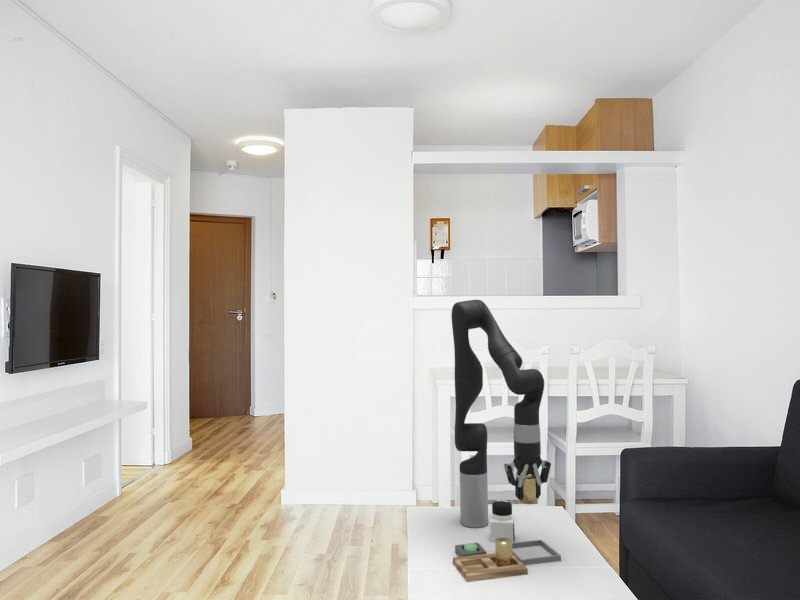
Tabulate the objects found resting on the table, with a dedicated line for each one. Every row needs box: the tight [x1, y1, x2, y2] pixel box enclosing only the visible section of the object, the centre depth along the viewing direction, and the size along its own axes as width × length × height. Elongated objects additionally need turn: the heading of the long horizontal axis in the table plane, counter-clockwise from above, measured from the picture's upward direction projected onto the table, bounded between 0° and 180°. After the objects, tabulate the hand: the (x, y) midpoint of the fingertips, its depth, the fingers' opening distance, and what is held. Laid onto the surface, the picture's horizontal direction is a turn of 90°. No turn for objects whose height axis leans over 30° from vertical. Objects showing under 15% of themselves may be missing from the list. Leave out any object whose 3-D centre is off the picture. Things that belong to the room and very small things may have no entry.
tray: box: [512, 539, 562, 566], centre depth 175 cm, size 12×12×2 cm
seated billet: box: [494, 538, 513, 567], centre depth 167 cm, size 5×5×7 cm
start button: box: [464, 542, 477, 552], centre depth 175 cm, size 4×4×3 cm
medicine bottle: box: [489, 499, 516, 543], centre depth 188 cm, size 7×7×12 cm
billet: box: [519, 474, 537, 505], centre depth 175 cm, size 5×5×7 cm
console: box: [454, 542, 488, 557], centre depth 175 cm, size 7×7×3 cm
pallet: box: [452, 552, 529, 583], centre depth 166 cm, size 12×17×2 cm
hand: (528, 498), depth 175 cm, fingers closed on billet, 4 cm apart
